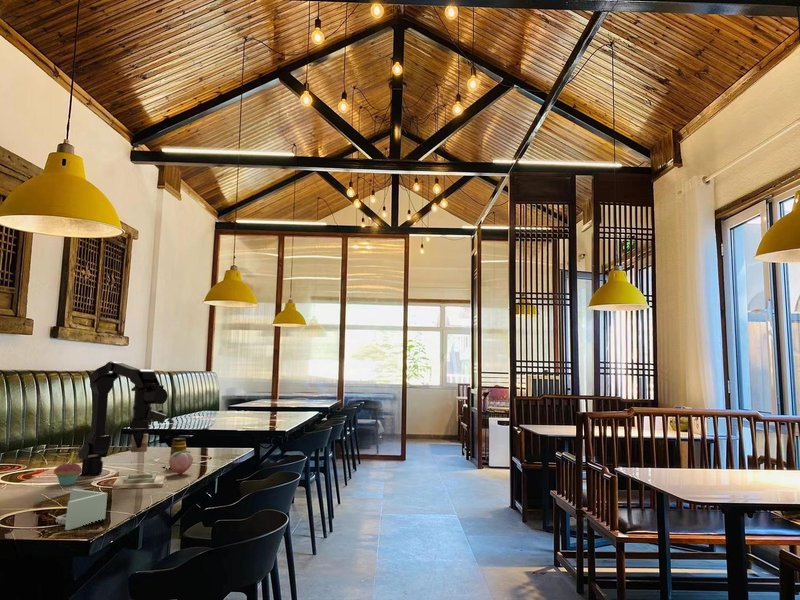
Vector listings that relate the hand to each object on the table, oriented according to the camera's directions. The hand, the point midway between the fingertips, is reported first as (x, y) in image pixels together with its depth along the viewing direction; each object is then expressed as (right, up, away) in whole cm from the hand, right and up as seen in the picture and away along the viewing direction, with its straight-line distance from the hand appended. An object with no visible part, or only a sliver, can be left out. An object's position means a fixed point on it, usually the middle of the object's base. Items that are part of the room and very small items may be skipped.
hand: (139, 446), depth 205 cm
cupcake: (-23, -12, -7) cm, 26 cm away
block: (0, -2, 0) cm, 2 cm away
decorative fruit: (+8, -15, +16) cm, 24 cm away
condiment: (0, -17, +31) cm, 36 cm away
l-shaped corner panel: (+7, -7, -55) cm, 56 cm away
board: (+2, -12, -3) cm, 13 cm away
